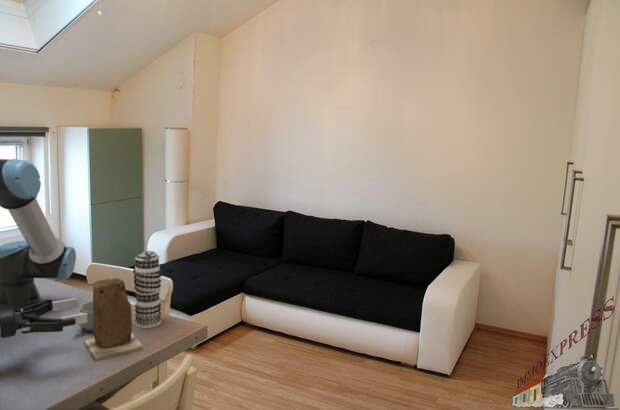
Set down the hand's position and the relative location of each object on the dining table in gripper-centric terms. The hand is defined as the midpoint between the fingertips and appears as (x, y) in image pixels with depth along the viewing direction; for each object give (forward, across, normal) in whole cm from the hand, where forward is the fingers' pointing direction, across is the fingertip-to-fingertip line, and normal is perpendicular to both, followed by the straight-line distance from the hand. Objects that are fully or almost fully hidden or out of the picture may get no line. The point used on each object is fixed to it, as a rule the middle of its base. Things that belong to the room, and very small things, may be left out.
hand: (81, 310), depth 154 cm
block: (+9, 0, -12) cm, 15 cm away
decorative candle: (+24, -12, -14) cm, 30 cm away
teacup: (+7, -16, -14) cm, 22 cm away
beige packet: (+9, 0, -14) cm, 16 cm away
